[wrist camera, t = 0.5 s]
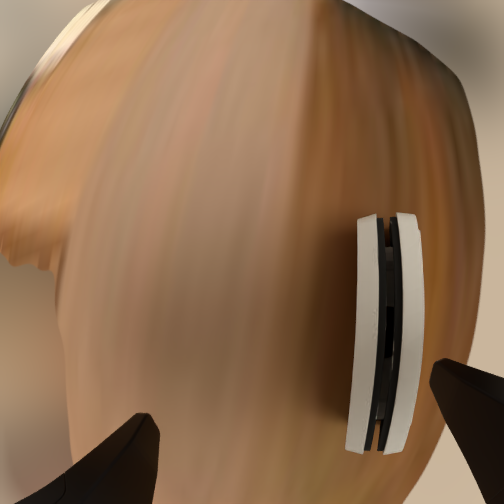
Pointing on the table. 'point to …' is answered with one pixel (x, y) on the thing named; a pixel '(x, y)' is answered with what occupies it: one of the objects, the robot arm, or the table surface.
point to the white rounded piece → (374, 331)
